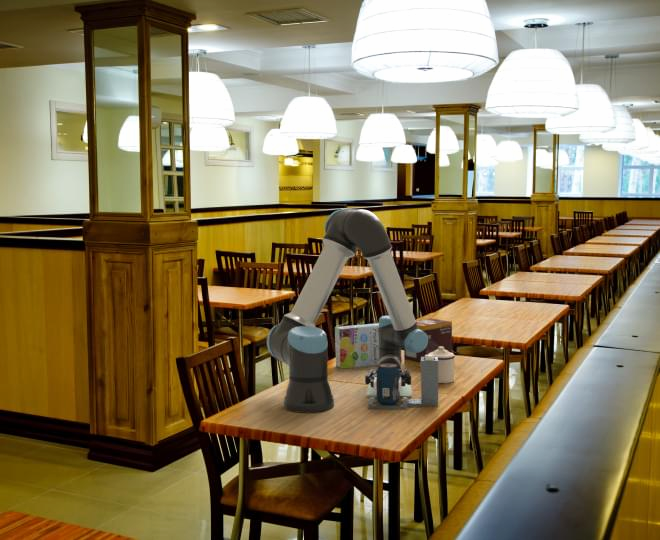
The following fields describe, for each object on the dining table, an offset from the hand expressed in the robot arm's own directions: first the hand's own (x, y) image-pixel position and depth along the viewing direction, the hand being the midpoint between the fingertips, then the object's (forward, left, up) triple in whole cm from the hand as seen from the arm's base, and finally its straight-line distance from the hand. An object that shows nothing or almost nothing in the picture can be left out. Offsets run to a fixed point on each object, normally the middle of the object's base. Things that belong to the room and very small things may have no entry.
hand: (387, 386), depth 226 cm
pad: (+15, +11, -7) cm, 20 cm away
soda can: (+4, +3, -7) cm, 8 cm away
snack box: (+39, +42, -7) cm, 58 cm away
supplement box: (+57, +26, -7) cm, 63 cm away
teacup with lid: (+37, +8, -7) cm, 39 cm away
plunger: (+11, -7, +2) cm, 14 cm away
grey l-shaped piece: (+6, -1, -7) cm, 9 cm away
